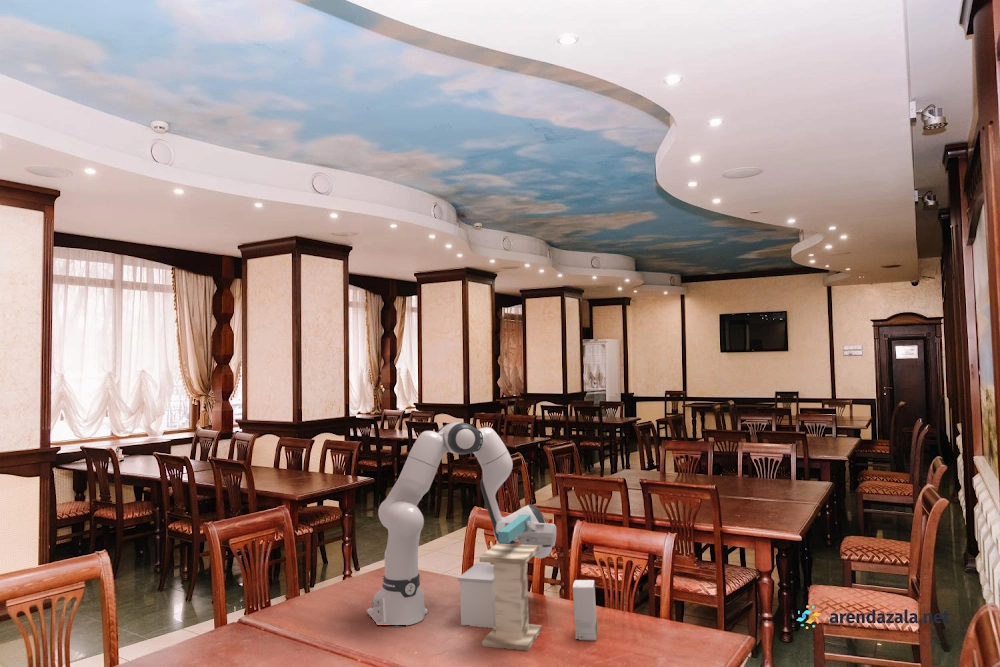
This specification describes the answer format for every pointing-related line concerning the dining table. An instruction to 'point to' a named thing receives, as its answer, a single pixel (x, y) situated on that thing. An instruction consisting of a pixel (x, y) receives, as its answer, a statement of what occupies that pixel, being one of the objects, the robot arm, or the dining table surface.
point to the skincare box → (584, 610)
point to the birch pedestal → (511, 597)
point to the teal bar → (513, 529)
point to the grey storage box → (478, 596)
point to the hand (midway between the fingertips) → (520, 522)
